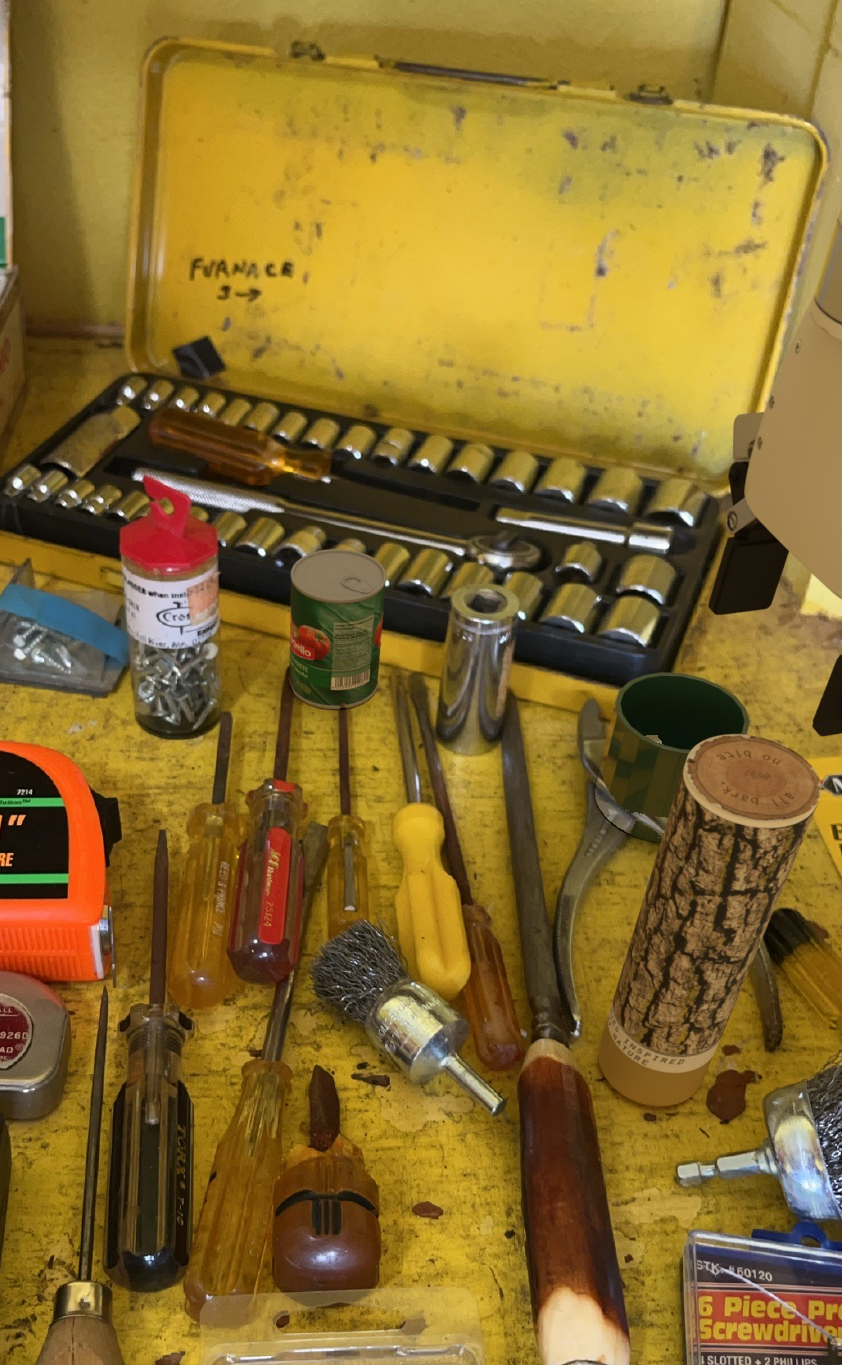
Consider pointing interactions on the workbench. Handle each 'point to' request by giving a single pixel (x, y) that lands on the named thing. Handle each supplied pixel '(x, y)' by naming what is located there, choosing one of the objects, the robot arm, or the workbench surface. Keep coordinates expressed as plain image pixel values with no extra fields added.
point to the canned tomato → (336, 627)
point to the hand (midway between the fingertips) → (788, 665)
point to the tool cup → (662, 738)
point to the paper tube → (705, 912)
